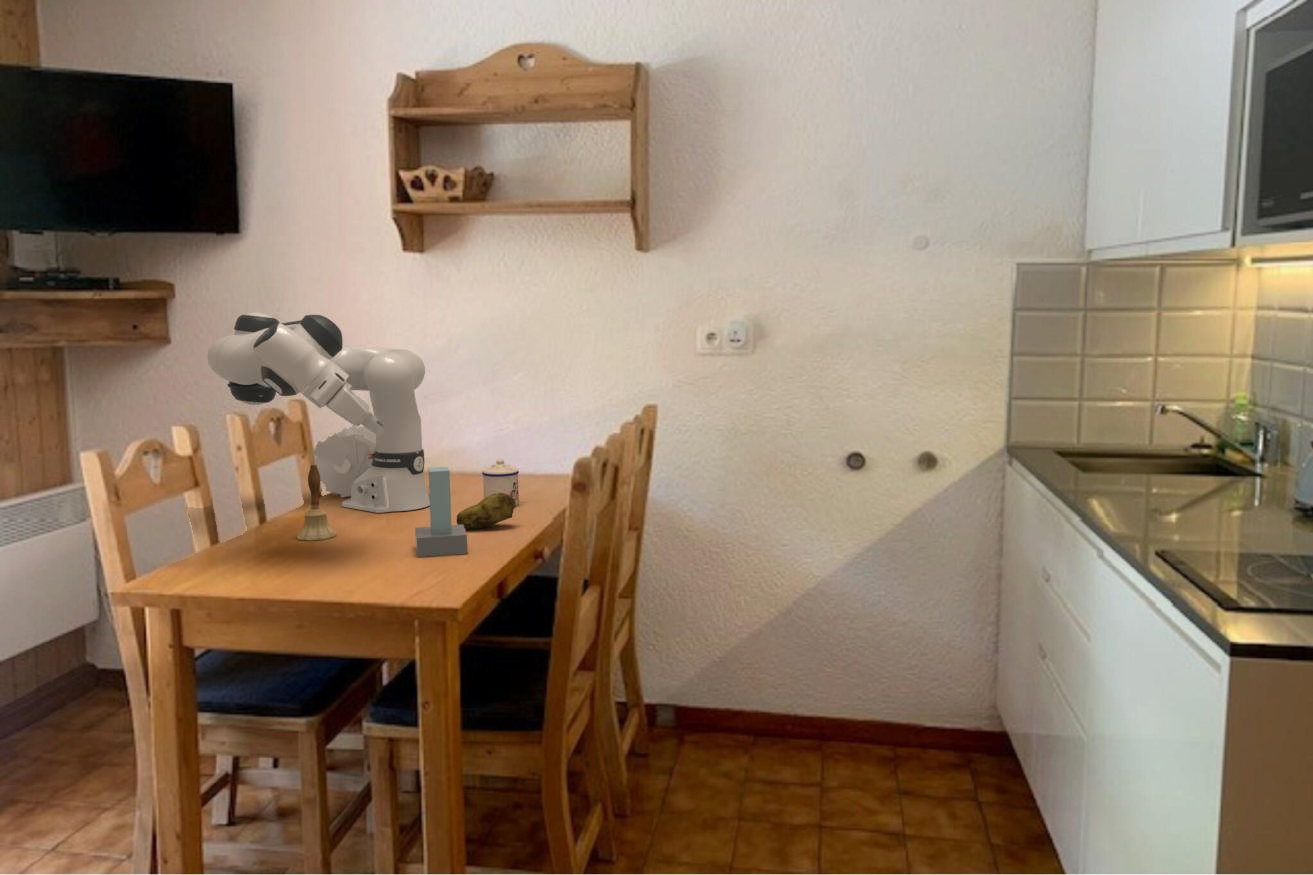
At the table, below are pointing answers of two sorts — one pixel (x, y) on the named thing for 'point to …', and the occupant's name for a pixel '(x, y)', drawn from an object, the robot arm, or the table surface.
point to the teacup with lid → (501, 480)
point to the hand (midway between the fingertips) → (382, 431)
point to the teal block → (440, 500)
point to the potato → (487, 512)
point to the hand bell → (315, 513)
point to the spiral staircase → (344, 458)
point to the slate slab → (440, 542)
